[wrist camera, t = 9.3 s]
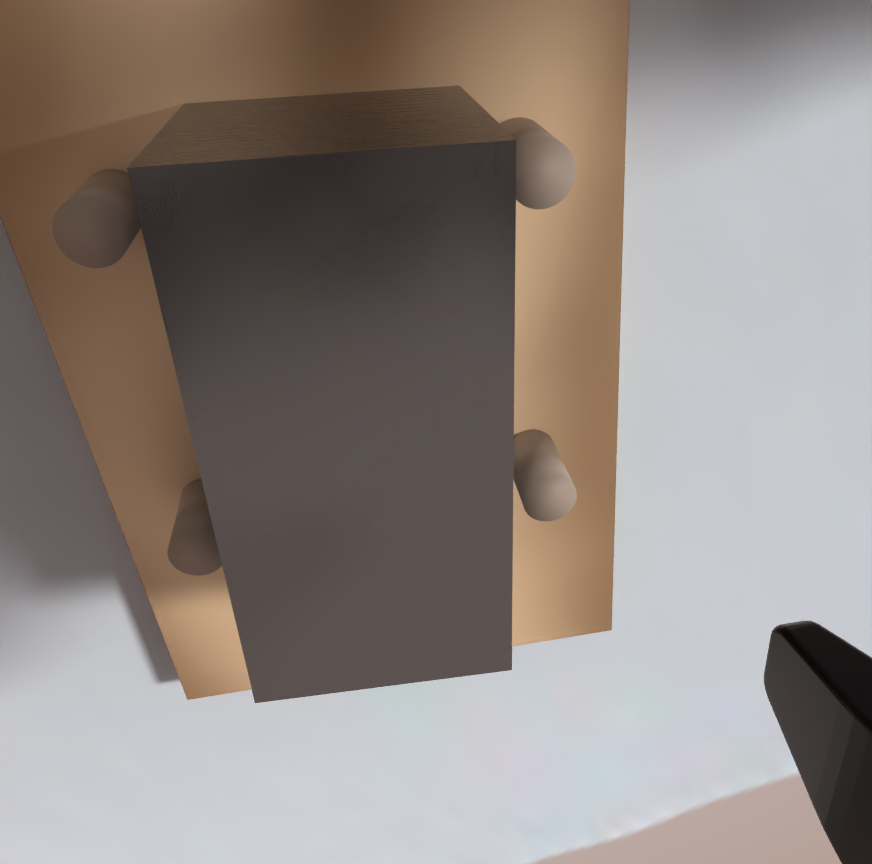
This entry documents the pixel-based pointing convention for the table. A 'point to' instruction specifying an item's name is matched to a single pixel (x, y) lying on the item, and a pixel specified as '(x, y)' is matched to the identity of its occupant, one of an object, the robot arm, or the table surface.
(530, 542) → the pin tray
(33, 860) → the table surface
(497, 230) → the dark grey rectangular block
